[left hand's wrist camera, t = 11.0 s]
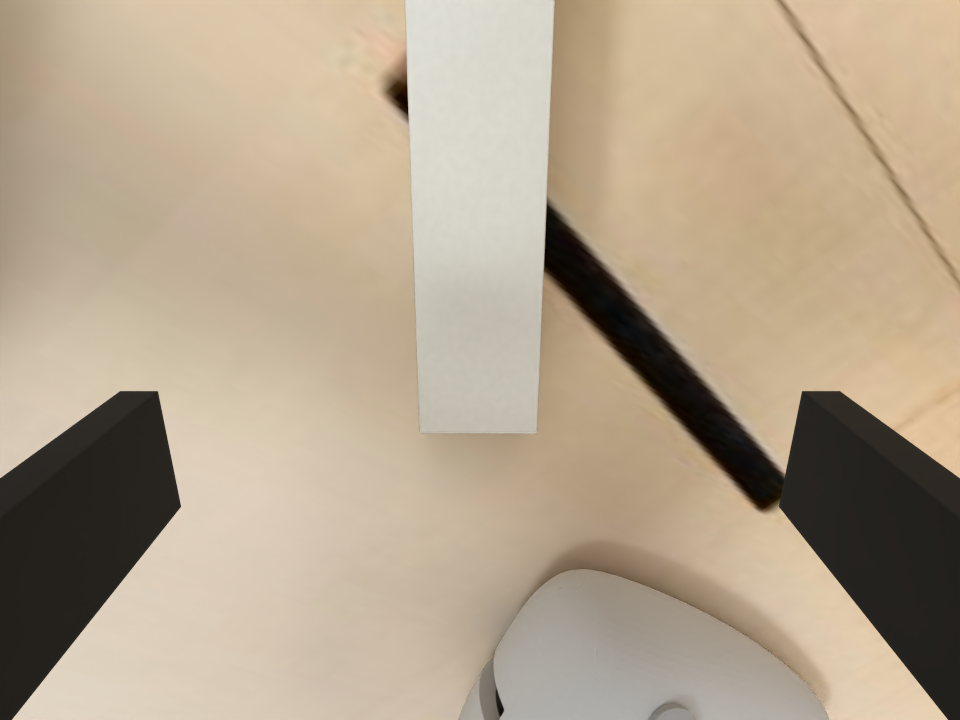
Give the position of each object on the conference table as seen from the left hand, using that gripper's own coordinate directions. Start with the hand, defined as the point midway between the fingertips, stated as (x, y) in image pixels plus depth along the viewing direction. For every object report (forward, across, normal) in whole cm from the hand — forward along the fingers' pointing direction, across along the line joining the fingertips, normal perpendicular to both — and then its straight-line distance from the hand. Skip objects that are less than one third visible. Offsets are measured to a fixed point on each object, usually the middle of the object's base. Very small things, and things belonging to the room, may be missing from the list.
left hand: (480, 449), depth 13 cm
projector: (+20, -11, +28) cm, 36 cm away
